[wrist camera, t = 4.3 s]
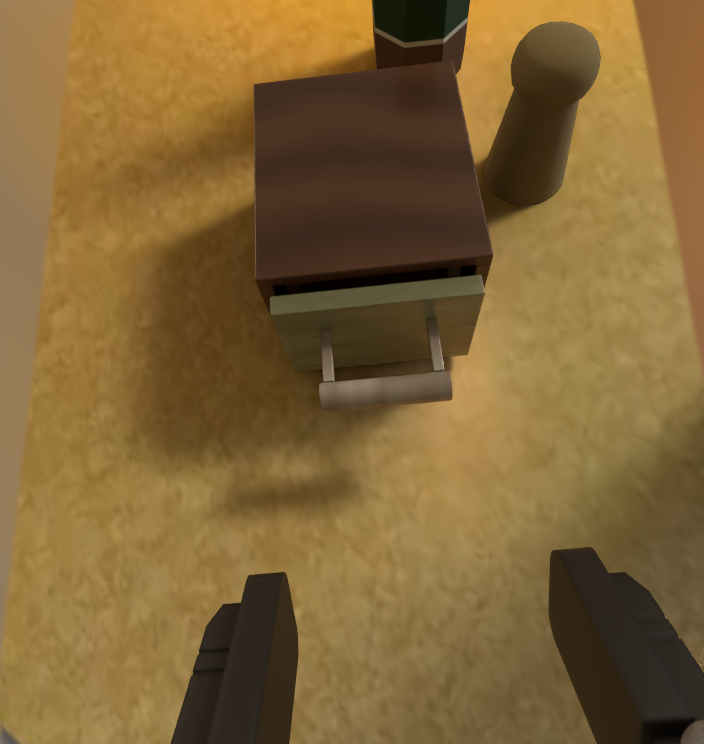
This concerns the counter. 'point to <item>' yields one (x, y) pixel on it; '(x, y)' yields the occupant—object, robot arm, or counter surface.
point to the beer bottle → (419, 32)
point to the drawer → (379, 332)
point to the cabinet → (364, 178)
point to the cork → (541, 112)
